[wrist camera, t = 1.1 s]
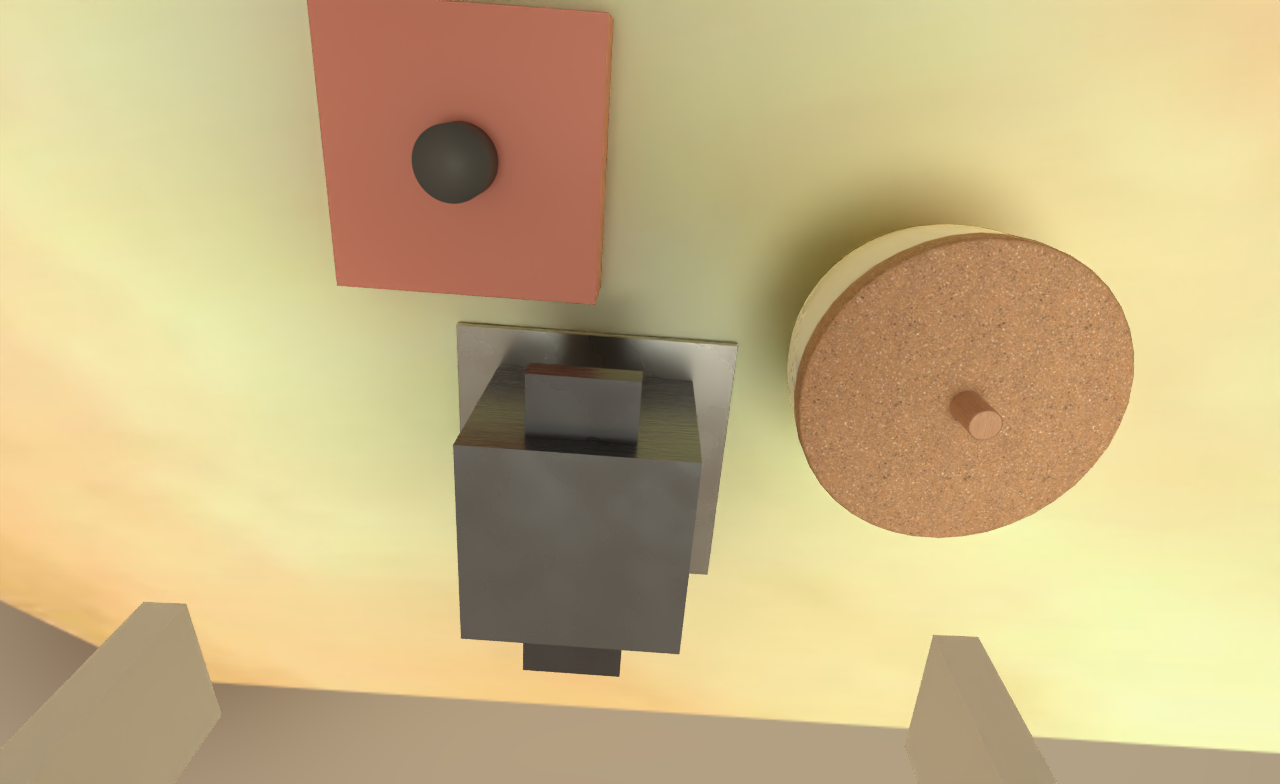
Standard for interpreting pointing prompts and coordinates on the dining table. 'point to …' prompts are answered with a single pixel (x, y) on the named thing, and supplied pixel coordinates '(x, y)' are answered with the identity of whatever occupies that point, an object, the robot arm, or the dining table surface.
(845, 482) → the lidded jar
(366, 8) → the lid
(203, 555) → the dining table surface
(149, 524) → the dining table surface
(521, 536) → the metal cube on plate
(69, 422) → the dining table surface
